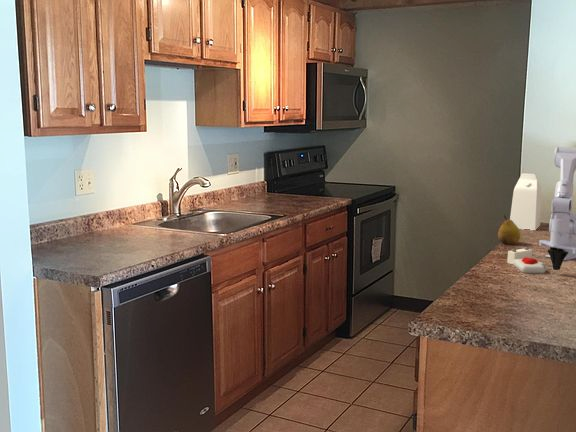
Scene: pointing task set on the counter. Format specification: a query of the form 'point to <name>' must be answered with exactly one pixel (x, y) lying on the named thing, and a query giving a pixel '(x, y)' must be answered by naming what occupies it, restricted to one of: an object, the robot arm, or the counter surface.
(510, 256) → the ledger strip
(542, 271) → the icon
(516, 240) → the fruit
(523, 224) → the milk
